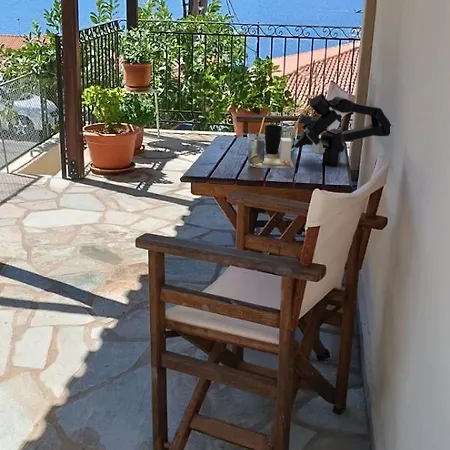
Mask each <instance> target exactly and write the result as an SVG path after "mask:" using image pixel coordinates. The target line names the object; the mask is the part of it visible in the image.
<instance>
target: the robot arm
mask: <svg viewBox="0 0 450 450" xmlns="http://www.w3.org/2000/svg"><path fill="white" fill-rule="evenodd" d="M308 105H309V107H310V108H312V110H313V111H314V112H315V114H317V116H318V117H316V116H315V117H314V118H312V116H311V115H309V114H307V115H306V114H304V113H301V114H300V115H299V118H298V119H297V120H298V122H300V124H301V126H300V127H301V128H302V129H301V135H300V136H299V138H298V140H297V142H296V143H295V144H294V146H293V147H294V148H295V149H298V148H301V147H304V146H309V145H308V144H311V143H313V142H314V143H315V144H316V145H318V144H319V143H320V141H321V143H322V145H323V148H325V152H324V153H323V154H322V160H321V161H322V163H321V165H326V166H330V167H338V166H340V165H341V164H342V162H341V158H342V156H341V155H342V154H341V153H343V152H344V150H345V146H344V144H345V143H348V142H350V141H355V140H360V139H365V138H369V137H373V136H374V137H388V136H390V135H391V134H390V126H391V124H392V123H391V122H390V121H389V119H388V117H387V116H386V115H385V113H384V112H383V109H382V108H381V107H377V106H371V105H365V104H360V103H356V102H353V101H352V100H349V99H347V98H344V97H340V96H334V97H333V98H331V99H329V100H328V99H327V98H326V96H325V95H324V94H323V93H319V94H318V95H316V96H314V97H312V99H311V98H310V101H309V103H308ZM338 112H339V113H338ZM340 113H341V114H349V113H357V114H361V115H366V116H369V117H370V122H371V123H370V124H369V125H367V126H366V125H365V126H362V127H357V128H353V129H349V130H345V131H342V130H339V129H337V128H332V129H329V127H330V126H332V124H334V123H335V122H336V121H338V123H339V124H341V123H342V118H343V116H342V115H341V114H340ZM390 123H391V124H390ZM327 128H328V130H327ZM324 130H325V131H327V132H324V133H322V132H323V131H324ZM321 133H322V135H321V138H319V137H320V136H319V135H320V134H321ZM389 134H390V135H389Z"/></svg>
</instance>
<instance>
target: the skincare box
mask: <svg viewBox="0 0 450 450" xmlns="http://www.w3.org/2000/svg"><path fill="white" fill-rule="evenodd" d="M319 136H320V137H319V138H321V135H319ZM311 152H313V153H316V154H319V155H321V154H322V155H323V153H324V152H325V148H323V145H322V143H321V141H320V143H319V144H318V145H316V144H315V143H314V142H313V144H312V145H311Z"/></svg>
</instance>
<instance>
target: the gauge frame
mask: <svg viewBox="0 0 450 450" xmlns="http://www.w3.org/2000/svg"><path fill="white" fill-rule="evenodd" d="M256 142H257V148H256V147H255V154H256V153H257V157H259V158H260V159H261V160H262V163H258V164H255V163H254V162H253V167H254V168H260V169H261V168H262V169H263V168H264V169H265V168H266V169H289V170H290V169H292V170H294V169H295V166H294V163H293V161H292V157H291V158H290V162H288V164H285V162H280V159H279V155H280V154H275V155H271V154H267V155H266V156H267V157H265V139H264V136H256ZM263 158H264V161H263Z"/></svg>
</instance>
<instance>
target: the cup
mask: <svg viewBox="0 0 450 450" xmlns="http://www.w3.org/2000/svg"><path fill="white" fill-rule="evenodd" d="M282 130H283V126H282V125H278V124H265V125H264V143H265V149H264V153H265V152H266V153H267V155H279V151H280V141H281V138H282ZM266 153H265V154H266Z"/></svg>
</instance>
